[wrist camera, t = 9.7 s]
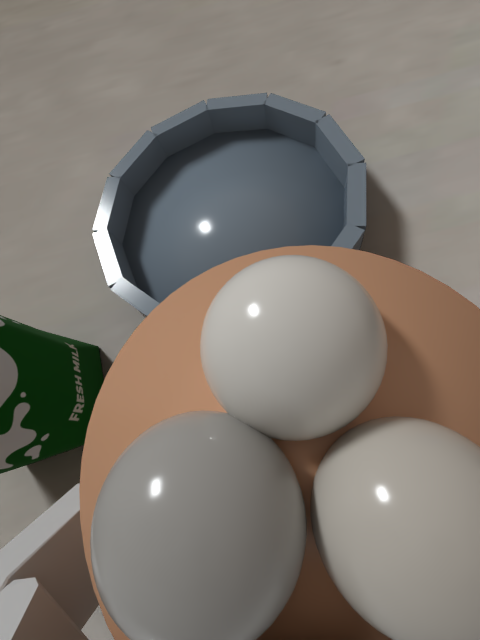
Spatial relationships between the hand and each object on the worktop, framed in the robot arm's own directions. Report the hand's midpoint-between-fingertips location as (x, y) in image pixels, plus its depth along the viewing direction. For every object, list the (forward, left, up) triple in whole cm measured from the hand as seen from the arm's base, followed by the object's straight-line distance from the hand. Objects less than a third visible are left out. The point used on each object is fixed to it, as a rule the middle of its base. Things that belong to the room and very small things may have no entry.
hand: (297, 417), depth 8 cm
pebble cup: (-1, 0, -5) cm, 5 cm away
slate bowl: (+10, +13, -15) cm, 22 cm away
